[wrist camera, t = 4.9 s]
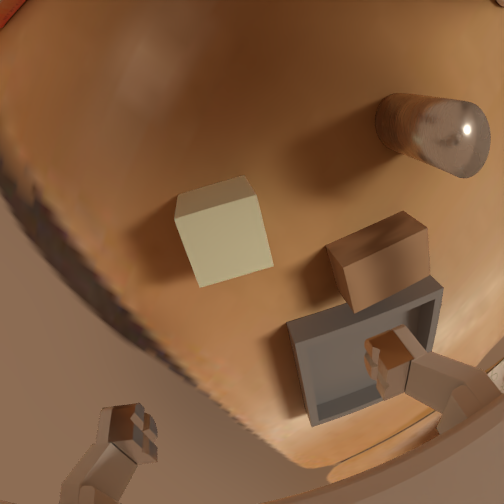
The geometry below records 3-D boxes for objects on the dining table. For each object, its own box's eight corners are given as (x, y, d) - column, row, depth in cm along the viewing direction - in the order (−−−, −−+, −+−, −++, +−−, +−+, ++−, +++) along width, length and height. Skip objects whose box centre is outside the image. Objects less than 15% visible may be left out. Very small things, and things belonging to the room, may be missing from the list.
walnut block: (401, 209, 27) (427, 227, 23) (407, 254, 29) (430, 274, 26) (324, 244, 27) (343, 267, 23) (336, 287, 29) (354, 313, 26)
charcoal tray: (427, 272, 30) (443, 287, 28) (413, 366, 38) (423, 381, 35) (286, 322, 30) (294, 343, 27) (305, 408, 38) (311, 427, 35)
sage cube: (244, 174, 23) (256, 194, 19) (259, 234, 25) (273, 266, 21) (178, 194, 23) (173, 219, 18) (198, 252, 25) (199, 287, 21)
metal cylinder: (419, 91, 22) (488, 100, 14) (425, 147, 24) (490, 171, 17) (370, 95, 21) (437, 103, 14) (379, 155, 24) (442, 184, 17)
